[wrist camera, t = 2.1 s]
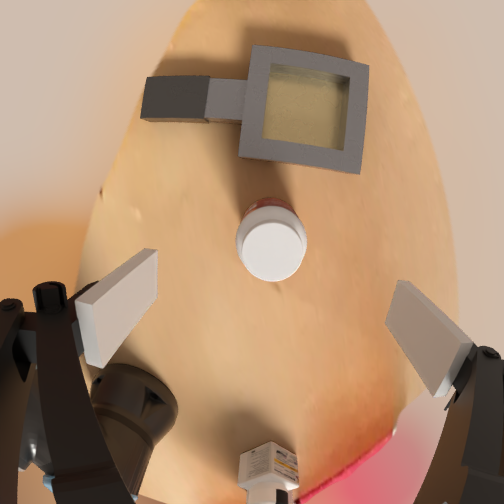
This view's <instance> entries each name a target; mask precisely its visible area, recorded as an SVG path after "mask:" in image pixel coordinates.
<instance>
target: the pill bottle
mask: <svg viewBox="0 0 504 504" xmlns="http://www.w3.org/2000/svg"><path fill="white" fill-rule="evenodd" d="M306 248H307V236H306V232H305V228H304V226H303V224H302V222H301V221H300V219H299V217H298V216H297V215H296V213H295V212H294V210H293V209H292V207H291V206H290V205H288V204H287V203H286V202H284V201H282V200H280V199H277V198H264V199H261V200H258V201H256V202H255V203H253V204H252V205H251V206H250V207H249V208H248V209H247V210H246V212H245V214H244V216H243V218H242V220H241V223H240V225H239V227H238V230H237V234H236V249H237V252H238V255H239V257H240V259H241V261H242V262H243V264H244V265H245V266H246V268H247V269H248V271H249V272H250V273H251V274H253V275H254V276H255V277H257V278H259V279H262V280H265V281H280V280H283V279H285V278H287V277H289V276H291V275H292V274H293V273H294V272H295V271H296V270H297V269H298V267H299V266H300V264H301V261H302V259H303V257H304V255H305V252H306Z"/></svg>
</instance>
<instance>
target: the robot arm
mask: <svg viewBox="0 0 504 504" xmlns="http://www.w3.org/2000/svg"><path fill="white" fill-rule="evenodd" d="M157 267H158V250H153V249H146V248H144V249H143V250H142V251H140V252H139V253H137V254H136V255H135V256H133V257H132V258H130V259H129V260H128V261H126V262H125V263H123V264H122V265H121V266H119V267H118V268H117V269H115V270H114V271H113V272H111V273H110V274H108V275H107V276H106V277H104V278H103V279H102V280H100V281H96V282H93V283H90V284H88V285H87V286H85V287H84V288H83V289H82V290H80V291H79V292H77V294H75V295H73V296H72V297H71V298H69V299H68V300H67V296H66V287H65V285H64V284H62V283H60V282H55V281H51V282H44V283H41V284H38V285H37V286H35V287H34V288H33V297H34V302H35V307H36V313H35V312H24V308H23V303H22V302H21V301H20V300H18V299H10V298H7V299H4V300H2V301H1V302H0V504H17V486H18V471H24V470H26V468H27V467H28V466H29V465H30V464H31V463H32V462H33V463H34V464H36V465H37V466H38V467H39V468H40V469H41V470H42V471H44V472H45V475H44V476H43V484H44V486H45V487H47V488H48V489H49V490H50V491H51V492H52V493H53V494H54V497H55V500H56V504H136V503H135V501H136V500H137V499H138V493H139V490H140V487H141V484H142V481H143V478H144V475H145V472H146V469H147V466H148V463H149V460H150V458H151V454H152V452H153V449H154V447H155V446H156V444H157V443H158V442H159V441H160V440H161V439H162V438H163V437H164V436H165V435H166V434H167V433H168V432H169V431H170V430H171V428H172V427H173V425H174V423H175V421H176V418H177V414H178V406H177V402H176V400H175V398H174V396H173V395H172V393H171V392H170V391H169V389H168V388H167V387H166V386H165V385H164V384H163V383H161V382H160V381H159V380H158V379H156V378H155V377H153V376H152V375H150V374H149V373H147V372H145V371H143V370H141V369H138V368H136V367H133V366H129V365H124V364H111V365H107V366H105V365H106V364H107V363H108V361H109V360H110V359H111V357H112V356H113V355H114V353H115V352H116V351H117V349H118V348H119V347H120V345H121V344H122V343H123V341H124V340H125V339H126V337H127V336H128V335H129V333H130V332H131V331H132V329H133V328H134V327H135V326H136V324H137V323H138V322H139V320H140V319H141V318H142V316H143V315H144V314H145V313H146V311H147V310H148V309H149V308H150V306H151V305H152V304H153V302H154V301H155V300H156V299H157V297H158V291H157ZM385 324H386V326H387V327H388V329H389V330H390V332H391V333H392V335H393V336H394V338H395V339H396V341H397V342H398V344H399V345H400V347H401V348H402V350H403V351H404V353H405V354H406V356H407V357H408V359H409V360H410V362H411V363H412V365H413V366H414V368H415V370H416V371H417V373H418V374H419V376H420V377H421V379H422V381H423V382H424V384H425V385H426V387H427V389H428V390H429V392H430V394H431V395H432V397H433V398H435V397H442V396H446V395H447V393H448V391H449V389H450V388H451V386H452V385H453V386H454V387H455V389H456V391H455V393H454V394H453V396H452V398H451V399H450V401H449V402H448V404H447V406H446V407H445V409H444V410H447V408H449V410H448V414H447V417H446V421H445V424H444V428H443V431H442V434H441V437H440V440H439V443H438V446H437V449H436V452H435V454H434V457H433V460H432V462H431V465H430V467H429V470H428V472H427V475H426V477H425V480H424V482H423V484H422V486H421V488H420V491H419V493H418V495H417V497H416V499H415V501H414V503H413V504H504V360H501V356H500V355H499V353H498V352H497V351H495V350H494V349H493V348H490V347H487V346H480V347H477V346H476V345H475V344H474V342H473V341H472V340H471V339H470V338H469V337H468V336H467V335H466V334H465V333H464V332H463V331H462V330H461V329H460V328H459V327H458V326H457V325H456V324H455V323H454V322H453V321H452V320H451V319H450V318H449V317H448V316H447V315H446V314H445V313H444V312H442V311H441V310H440V309H439V308H438V307H437V306H436V305H435V304H434V303H433V302H432V301H431V300H430V299H428V298H427V297H426V296H425V295H424V294H423V293H422V292H421V291H420V290H419V289H417V288H416V287H415V286H414V285H413V284H412V283H411V282H409V281H404V280H398V282H397V285H396V289H395V292H394V295H393V299H392V302H391V305H390V309H389V312H388V315H387V318H386V321H385ZM83 352H84V354H85V359H86V363H87V364H90V365H93V366H96V367H99V368H102V369H101V370H100V371H99V372H98V373H97V375H96V376H95V377H94V379H93V381H92V384H91V389H90V394H89V393H88V390H87V386H86V383H85V379H84V376H83V372H82V368H81V365H80V361H79V356H80V355H81V354H82V353H83Z"/></svg>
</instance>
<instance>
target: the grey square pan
mask: <svg viewBox="0 0 504 504" xmlns="http://www.w3.org/2000/svg"><path fill="white" fill-rule="evenodd" d="M368 83H369V65H366V64H362V63H358V62H354V61H350V60H346V59H342V58H338V57H333V56H328V55H323V54H318V53H313V52H307V51H301V50H294V49H287V48H280V47H271V46H261V45H252V52H251V59H250V66H249V73H248V80H237V79H219V78H211V77H210V76H158V77H147V79H146V84H145V90H144V96H143V102H142V109H141V116H140V118H141V119H144V120H146V121H149V122H188V123H209V122H221V123H234V124H242V126H241V135H240V143H239V151H238V157H240V158H246V159H255V160H263V161H271V162H279V163H286V164H293V165H300V166H307V167H313V168H319V169H325V170H331V171H336V172H342V173H347V174H358V175H360V170H361V162H362V154H363V145H364V136H365V125H366V114H367V100H368Z"/></svg>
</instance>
